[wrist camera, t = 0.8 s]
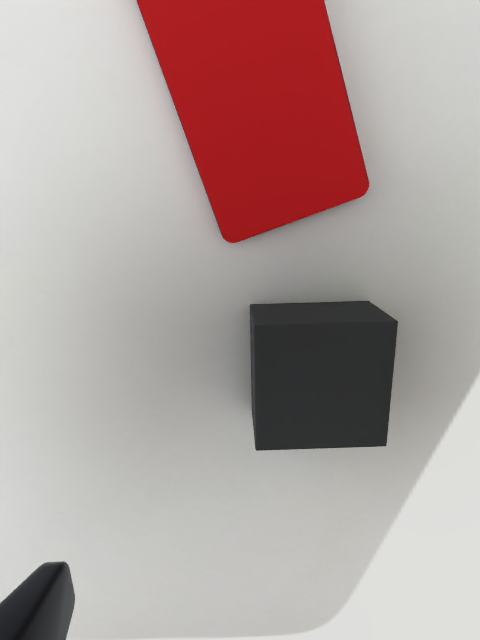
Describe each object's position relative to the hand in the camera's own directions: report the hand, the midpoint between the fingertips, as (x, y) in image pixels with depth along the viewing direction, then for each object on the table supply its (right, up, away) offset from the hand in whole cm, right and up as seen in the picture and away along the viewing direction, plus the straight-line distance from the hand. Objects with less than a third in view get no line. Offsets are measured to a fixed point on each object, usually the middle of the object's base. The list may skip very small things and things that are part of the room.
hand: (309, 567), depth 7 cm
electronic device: (-2, +15, +6) cm, 17 cm away
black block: (+2, +3, +10) cm, 10 cm away
